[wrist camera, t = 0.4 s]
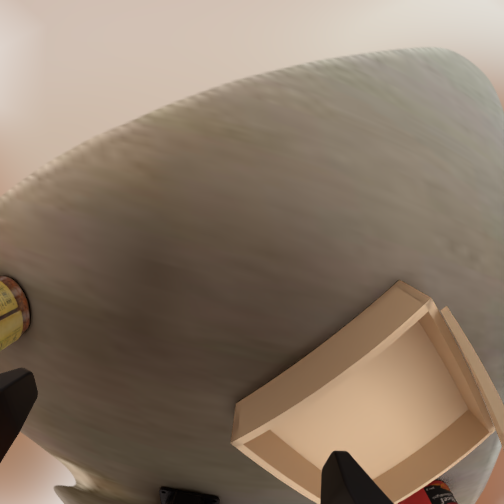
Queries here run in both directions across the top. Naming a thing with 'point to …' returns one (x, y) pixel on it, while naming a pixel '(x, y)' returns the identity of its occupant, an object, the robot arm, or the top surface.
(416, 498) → the canned food
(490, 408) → the carton flap
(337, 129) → the top surface
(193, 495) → the robot arm
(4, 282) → the sauce bottle
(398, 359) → the carton
